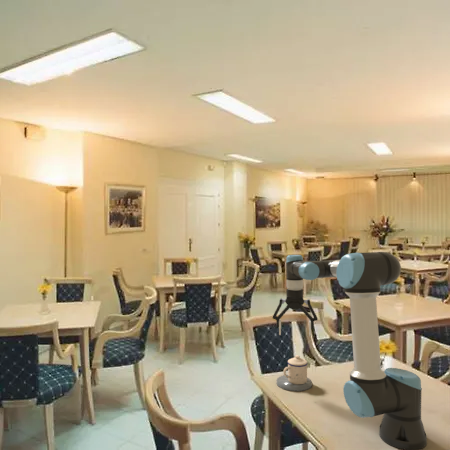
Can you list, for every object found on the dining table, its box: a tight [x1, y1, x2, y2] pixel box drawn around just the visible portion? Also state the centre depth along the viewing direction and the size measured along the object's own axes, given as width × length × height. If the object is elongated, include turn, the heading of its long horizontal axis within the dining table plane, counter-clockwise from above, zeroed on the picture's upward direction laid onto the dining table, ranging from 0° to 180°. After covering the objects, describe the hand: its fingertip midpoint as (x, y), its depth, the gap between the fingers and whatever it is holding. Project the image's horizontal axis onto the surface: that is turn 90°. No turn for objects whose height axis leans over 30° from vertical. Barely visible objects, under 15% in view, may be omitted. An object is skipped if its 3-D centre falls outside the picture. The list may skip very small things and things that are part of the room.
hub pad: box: [276, 374, 313, 392], centre depth 188 cm, size 16×16×1 cm
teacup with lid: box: [282, 354, 308, 384], centre depth 188 cm, size 12×9×12 cm
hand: (294, 334), depth 188 cm, fingers open, 13 cm apart
